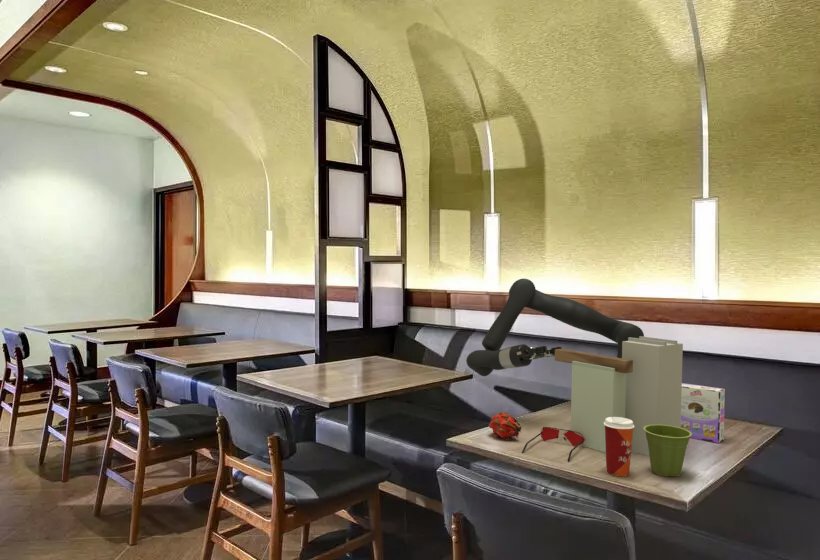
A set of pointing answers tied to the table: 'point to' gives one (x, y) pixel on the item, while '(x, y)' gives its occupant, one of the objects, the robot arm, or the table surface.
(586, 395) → the sage box
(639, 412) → the grey stand
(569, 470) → the table surface
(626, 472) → the paper cup
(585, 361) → the walnut bar
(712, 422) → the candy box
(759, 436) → the table surface
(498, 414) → the dragon fruit
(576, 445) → the glasses
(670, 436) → the plant pot
